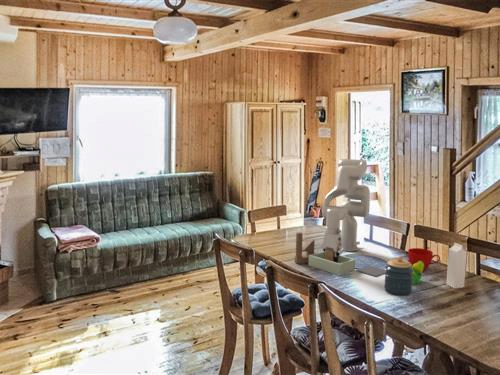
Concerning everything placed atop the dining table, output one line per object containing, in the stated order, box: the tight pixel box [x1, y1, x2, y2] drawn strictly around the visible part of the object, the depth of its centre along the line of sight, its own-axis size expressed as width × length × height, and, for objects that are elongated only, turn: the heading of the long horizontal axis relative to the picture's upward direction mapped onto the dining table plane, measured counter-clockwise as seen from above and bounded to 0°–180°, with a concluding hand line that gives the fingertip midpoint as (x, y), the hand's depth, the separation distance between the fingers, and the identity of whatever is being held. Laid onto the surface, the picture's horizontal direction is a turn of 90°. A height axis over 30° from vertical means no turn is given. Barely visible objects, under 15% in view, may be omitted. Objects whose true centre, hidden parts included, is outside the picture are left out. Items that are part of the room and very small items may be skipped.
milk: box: [445, 242, 468, 289], centre depth 230 cm, size 6×6×22 cm
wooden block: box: [294, 231, 315, 265], centre depth 266 cm, size 4×11×18 cm, turn 104°
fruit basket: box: [411, 261, 424, 285], centre depth 237 cm, size 11×9×11 cm
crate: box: [307, 250, 356, 276], centre depth 258 cm, size 14×22×6 cm, turn 42°
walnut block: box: [325, 247, 337, 262], centre depth 258 cm, size 5×5×12 cm
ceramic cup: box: [407, 247, 441, 271], centre depth 257 cm, size 13×17×10 cm
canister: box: [383, 255, 413, 297], centre depth 222 cm, size 13×13×18 cm
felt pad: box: [355, 264, 386, 278], centre depth 253 cm, size 13×13×1 cm
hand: (331, 261), depth 258 cm, fingers closed on walnut block, 5 cm apart
